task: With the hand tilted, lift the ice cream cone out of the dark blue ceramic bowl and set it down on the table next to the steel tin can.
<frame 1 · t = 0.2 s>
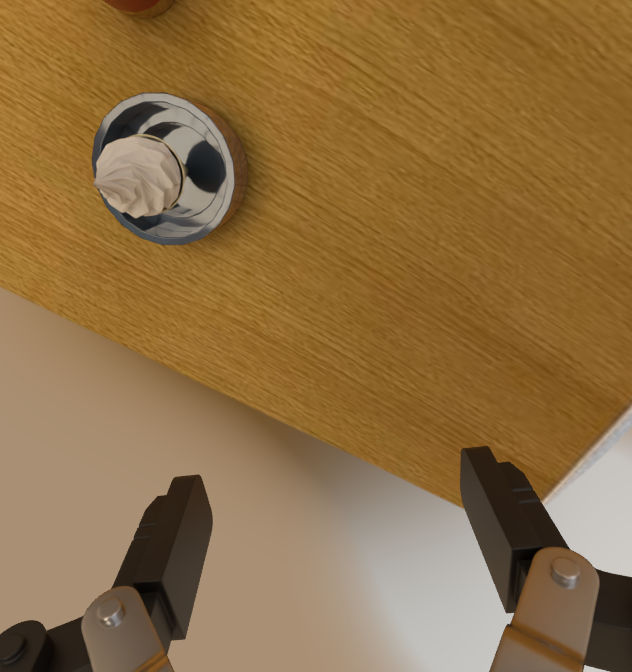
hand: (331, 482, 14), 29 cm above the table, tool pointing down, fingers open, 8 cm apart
ice cream cone: (186, 170, 38), resting on bowl
bowl: (187, 170, 38), on the table
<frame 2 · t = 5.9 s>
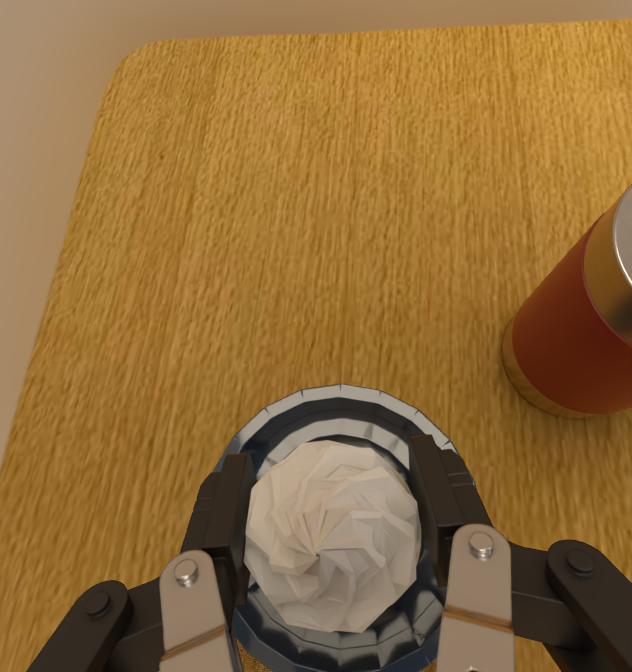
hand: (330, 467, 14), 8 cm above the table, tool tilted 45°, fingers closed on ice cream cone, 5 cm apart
ice cream cone: (342, 516, 22), resting on bowl, touching gripper
bowl: (342, 516, 22), on the table
tin can: (566, 356, 23), on the table
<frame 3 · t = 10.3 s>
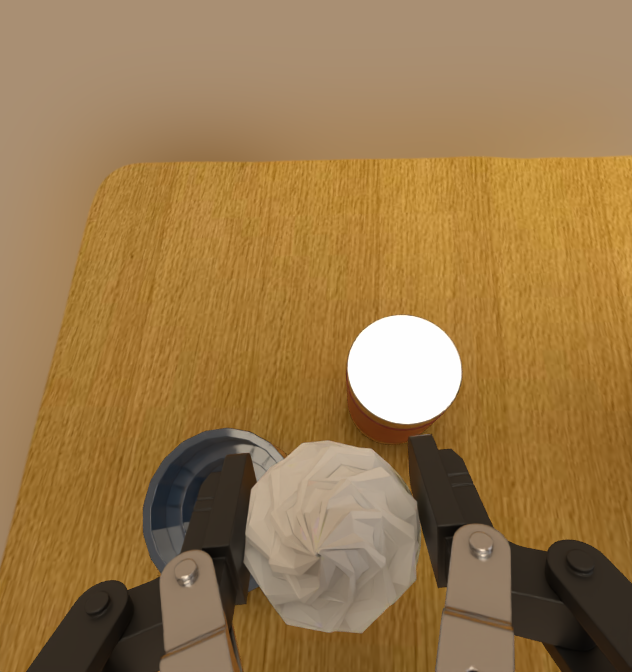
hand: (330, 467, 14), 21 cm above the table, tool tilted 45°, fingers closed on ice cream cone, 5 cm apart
ice cream cone: (341, 516, 22), point 13 cm above the table, touching gripper
bowl: (240, 506, 35), on the table
tin can: (389, 403, 36), on the table
when the fingers open (8 cm above the table, at t = 15.0 s): ice cream cone stays where it is, on the table.
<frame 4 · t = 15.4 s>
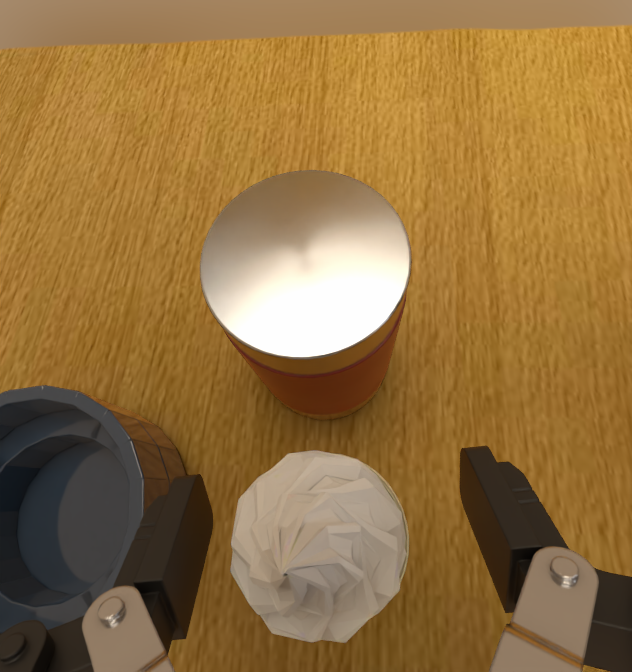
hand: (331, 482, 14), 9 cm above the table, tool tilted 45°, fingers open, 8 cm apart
ice cream cone: (339, 520, 22), on the table
bowl: (90, 513, 23), on the table
tin can: (325, 358, 24), on the table
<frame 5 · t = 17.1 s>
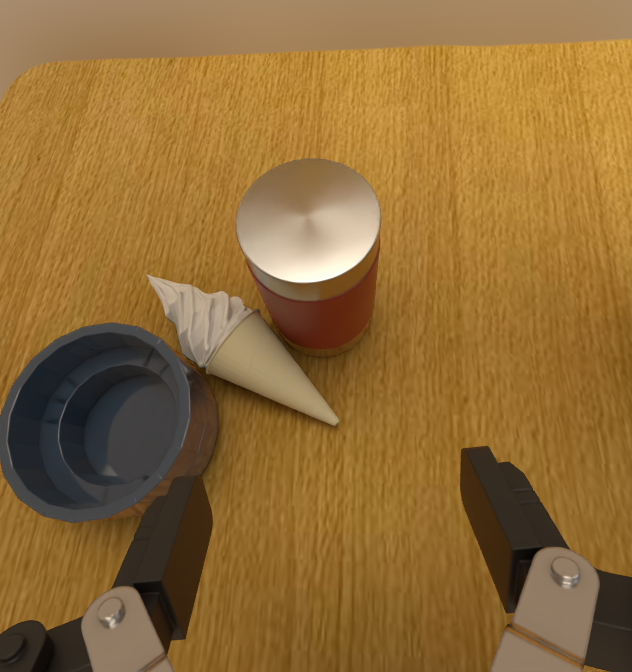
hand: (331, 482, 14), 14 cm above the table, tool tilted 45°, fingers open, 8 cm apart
ice cream cone: (339, 425, 27), point 1 cm above the table
bowl: (140, 429, 29), on the table
tin can: (323, 311, 31), on the table
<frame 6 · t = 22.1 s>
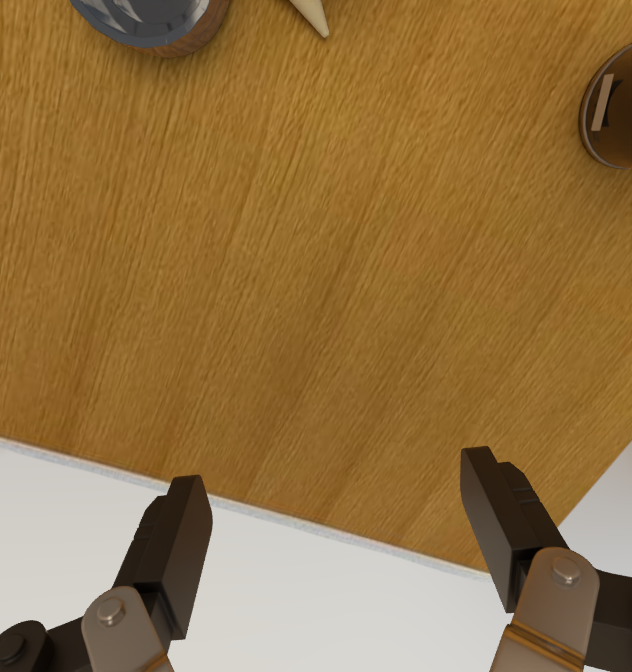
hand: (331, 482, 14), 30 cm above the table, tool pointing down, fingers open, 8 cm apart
ice cream cone: (328, 38, 34), point 1 cm above the table
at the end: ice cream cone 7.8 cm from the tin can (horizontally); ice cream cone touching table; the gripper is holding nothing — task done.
